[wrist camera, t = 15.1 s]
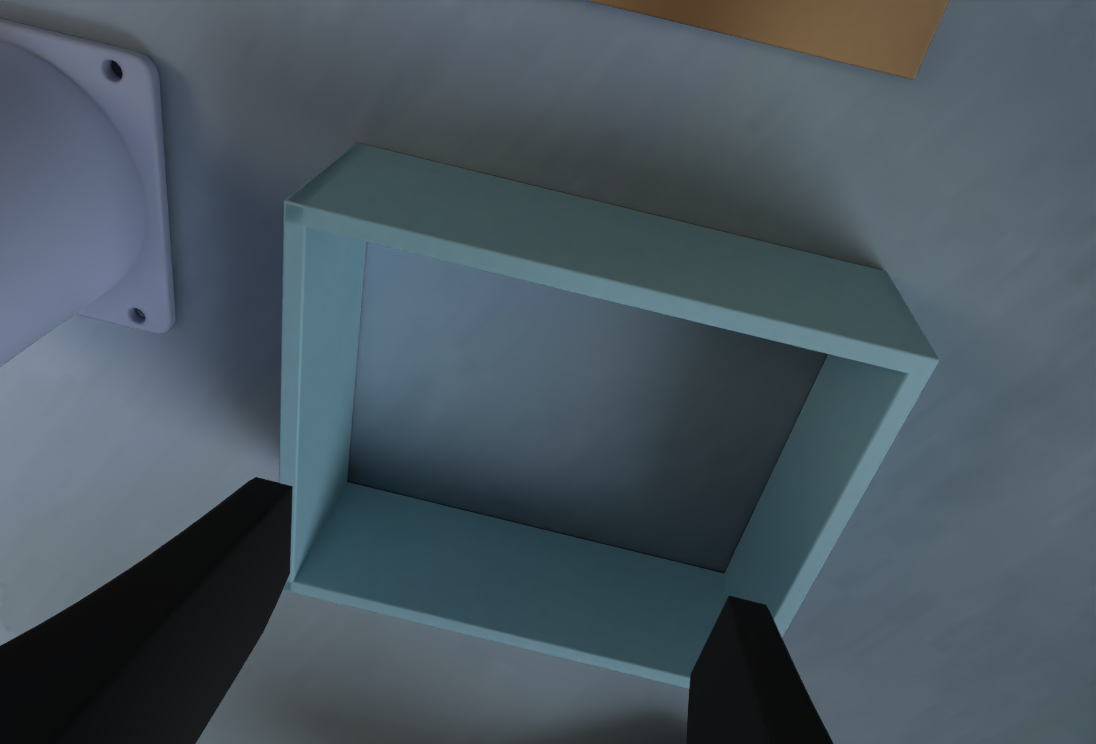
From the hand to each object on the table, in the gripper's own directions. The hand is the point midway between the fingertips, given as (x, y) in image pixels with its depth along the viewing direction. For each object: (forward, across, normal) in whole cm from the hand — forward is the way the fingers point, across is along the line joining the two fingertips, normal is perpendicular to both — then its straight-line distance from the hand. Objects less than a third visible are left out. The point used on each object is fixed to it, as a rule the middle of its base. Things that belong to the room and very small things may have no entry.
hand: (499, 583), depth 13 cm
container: (+10, -1, +3) cm, 11 cm away
